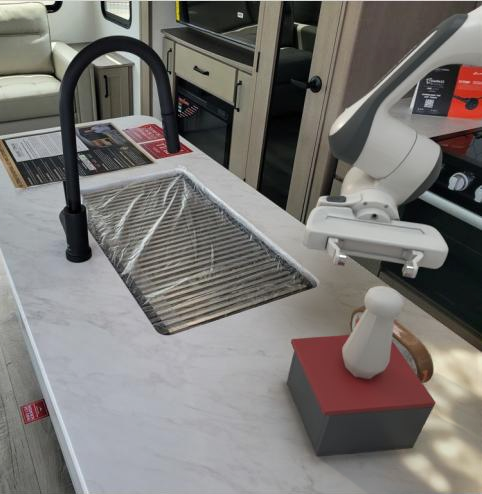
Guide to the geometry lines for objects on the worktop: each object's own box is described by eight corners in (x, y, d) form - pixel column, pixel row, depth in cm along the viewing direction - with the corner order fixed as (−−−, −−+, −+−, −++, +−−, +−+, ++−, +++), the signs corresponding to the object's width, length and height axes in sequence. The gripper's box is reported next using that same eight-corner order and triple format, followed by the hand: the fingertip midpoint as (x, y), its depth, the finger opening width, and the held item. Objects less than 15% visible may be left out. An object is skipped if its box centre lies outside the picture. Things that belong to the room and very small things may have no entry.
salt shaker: (348, 345, 68) (371, 272, 61) (389, 364, 65) (418, 290, 58) (332, 369, 64) (354, 295, 57) (375, 391, 61) (404, 316, 54)
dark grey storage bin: (316, 456, 64) (330, 415, 59) (286, 382, 74) (295, 342, 70) (412, 448, 65) (433, 407, 60) (369, 376, 76) (384, 336, 71)
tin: (425, 393, 73) (443, 355, 68) (409, 400, 72) (427, 361, 67) (356, 329, 84) (368, 292, 80) (342, 334, 83) (353, 297, 79)
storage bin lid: (323, 416, 59) (325, 411, 59) (290, 342, 70) (291, 338, 69) (433, 406, 60) (436, 402, 60) (384, 336, 71) (386, 331, 70)
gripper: (432, 246, 78) (447, 298, 67) (303, 226, 83) (298, 272, 72) (445, 212, 74) (464, 262, 63) (309, 194, 79) (305, 237, 69)
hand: (374, 267), depth 68 cm, fingers open, 8 cm apart
